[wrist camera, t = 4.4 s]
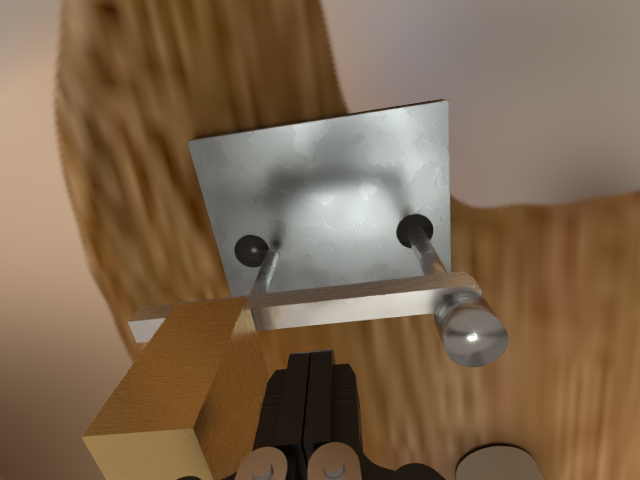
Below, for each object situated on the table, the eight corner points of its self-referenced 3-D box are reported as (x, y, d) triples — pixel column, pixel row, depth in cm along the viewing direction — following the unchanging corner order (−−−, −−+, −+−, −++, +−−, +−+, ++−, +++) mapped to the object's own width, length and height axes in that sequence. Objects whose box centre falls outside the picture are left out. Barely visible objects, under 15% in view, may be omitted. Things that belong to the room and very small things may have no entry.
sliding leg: (285, 203, 25) (192, 428, 9) (295, 255, 27) (232, 525, 11) (243, 209, 26) (81, 436, 9) (255, 260, 27) (135, 530, 11)
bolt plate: (442, 99, 24) (565, 125, 11) (446, 283, 30) (531, 446, 17) (188, 138, 26) (35, 202, 13) (236, 305, 32) (163, 469, 18)
